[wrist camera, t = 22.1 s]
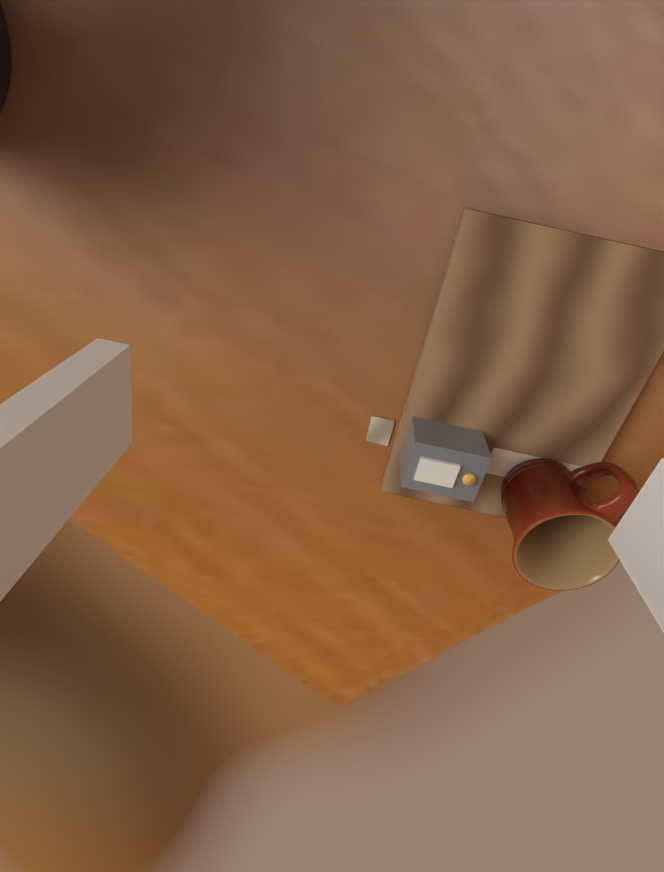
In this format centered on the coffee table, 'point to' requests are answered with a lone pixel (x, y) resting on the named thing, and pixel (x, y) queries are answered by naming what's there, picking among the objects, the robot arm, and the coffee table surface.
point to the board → (533, 348)
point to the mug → (562, 522)
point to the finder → (443, 459)
